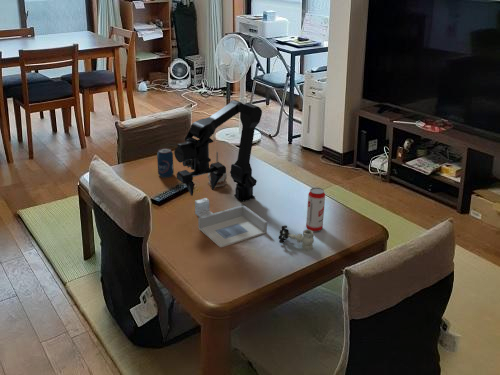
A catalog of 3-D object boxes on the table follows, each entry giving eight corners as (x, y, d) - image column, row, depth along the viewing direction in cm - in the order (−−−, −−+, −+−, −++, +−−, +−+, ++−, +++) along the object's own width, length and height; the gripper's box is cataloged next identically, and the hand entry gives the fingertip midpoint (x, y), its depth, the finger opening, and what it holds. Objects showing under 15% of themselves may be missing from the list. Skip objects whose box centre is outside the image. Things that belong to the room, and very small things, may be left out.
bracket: (195, 214, 226) (194, 200, 223) (206, 211, 229) (206, 197, 226) (205, 222, 220) (205, 209, 217) (216, 219, 223) (216, 205, 220)
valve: (315, 245, 207) (284, 237, 211) (317, 229, 204) (285, 221, 208) (309, 254, 201) (278, 246, 206) (310, 237, 198) (278, 229, 203)
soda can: (156, 177, 256) (154, 152, 251) (160, 171, 262) (159, 146, 257) (171, 178, 255) (170, 153, 250) (175, 172, 261) (174, 147, 256)
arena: (243, 215, 226) (243, 204, 224) (266, 232, 214) (267, 221, 212) (198, 228, 216) (198, 217, 214) (220, 247, 204) (220, 236, 202)
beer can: (324, 226, 219) (327, 188, 212) (320, 234, 214) (323, 195, 207) (308, 223, 221) (310, 185, 214) (304, 231, 215) (306, 192, 208)
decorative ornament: (206, 186, 249) (205, 154, 242) (211, 179, 255) (210, 147, 249) (223, 188, 247) (223, 156, 241) (228, 181, 254) (228, 149, 247)
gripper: (211, 143, 226) (212, 179, 233) (169, 153, 217) (170, 190, 224) (226, 152, 218) (226, 189, 225) (182, 163, 209) (184, 201, 215)
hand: (202, 192), depth 222 cm, fingers open, 9 cm apart
